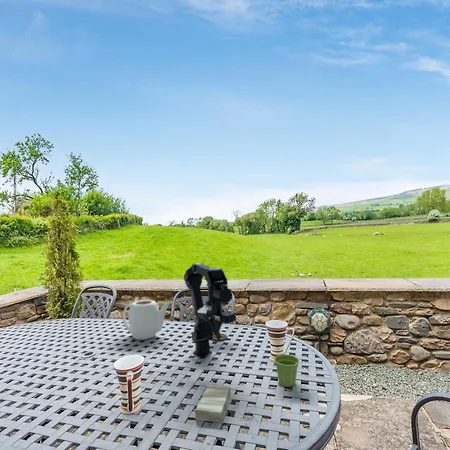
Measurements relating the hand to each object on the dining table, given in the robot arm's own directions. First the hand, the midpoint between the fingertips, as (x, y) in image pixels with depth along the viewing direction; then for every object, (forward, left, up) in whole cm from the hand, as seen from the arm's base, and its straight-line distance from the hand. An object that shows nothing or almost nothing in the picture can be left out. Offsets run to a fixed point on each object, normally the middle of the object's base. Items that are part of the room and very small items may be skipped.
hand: (215, 335), depth 130 cm
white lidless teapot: (-54, +1, -13) cm, 56 cm away
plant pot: (+30, +7, -13) cm, 34 cm away
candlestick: (-22, +24, -13) cm, 35 cm away
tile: (+16, -15, -12) cm, 25 cm away
